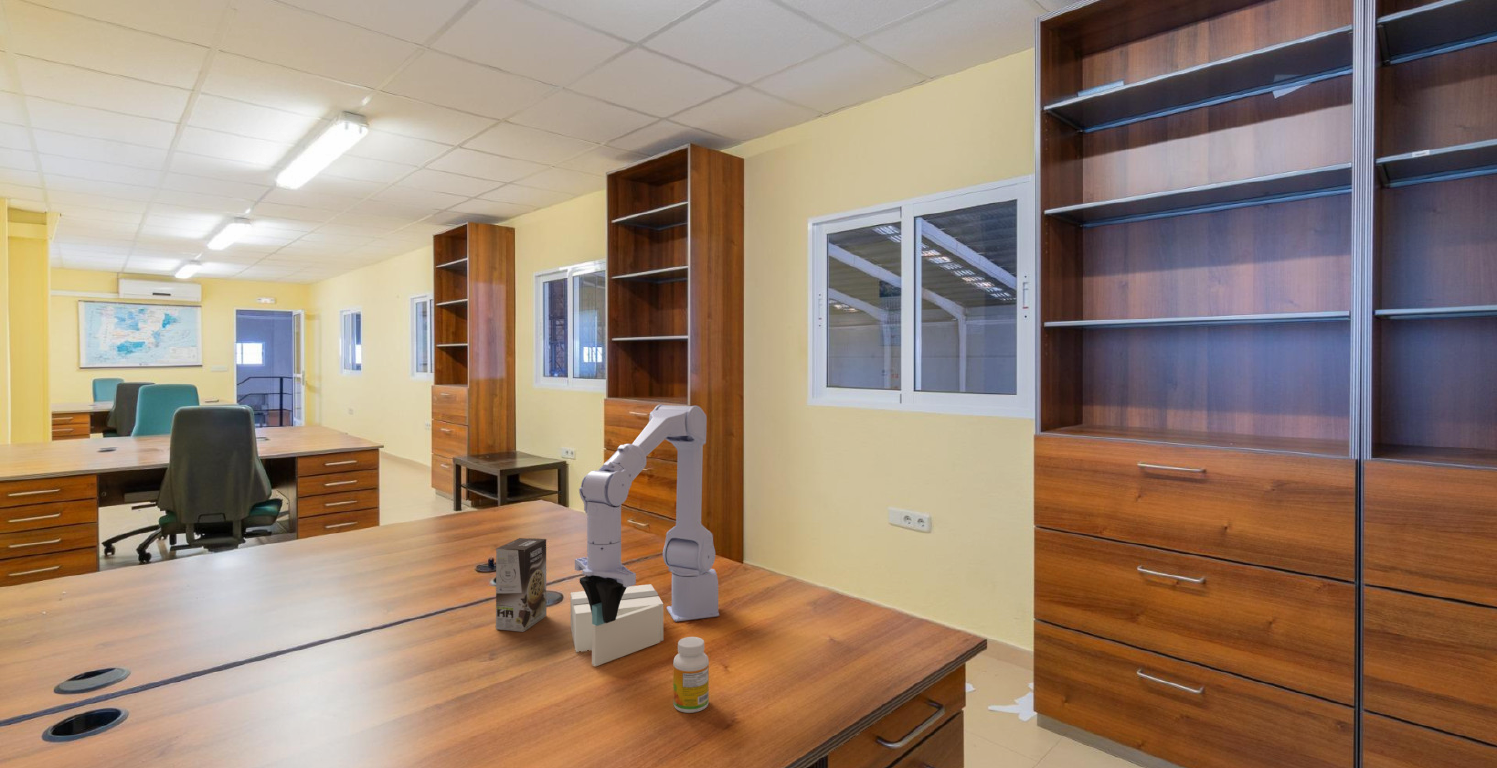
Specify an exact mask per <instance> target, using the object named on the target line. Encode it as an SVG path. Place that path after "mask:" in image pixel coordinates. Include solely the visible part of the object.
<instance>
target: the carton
mask: <svg viewBox="0 0 1497 768" xmlns="http://www.w3.org/2000/svg"><path fill="white" fill-rule="evenodd" d="M654 604H658V605H660V642H662V641H664V603H663V601H662V600H661V598H660V595H659V593H658V592H657V590H656V589H655V588H654V586H653V585H652V584H641V585H640V584H639V585H633V586H629V587H627V588H626V590H625V592H624V594H623V596H622V599H621V601H620V605H619V608H618V612H617V616H620V615H623V614H626V613H629V612H632V611H635V610H638V609H642V608H645V607H648V606H651V605H654ZM617 616H616V617H617ZM570 630H571V635H572V636H571V637H572V640H573V641H572V642H573V645H574V649H575V650H576V651H575V653H580V652H579V651H581V652H588V651H587V650H589V651H592V613H591V609H590V605H589V601H588V598H587V595H586V593H585V591H584V590H582V591H575V592H574V591H573V592H570Z"/></svg>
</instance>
